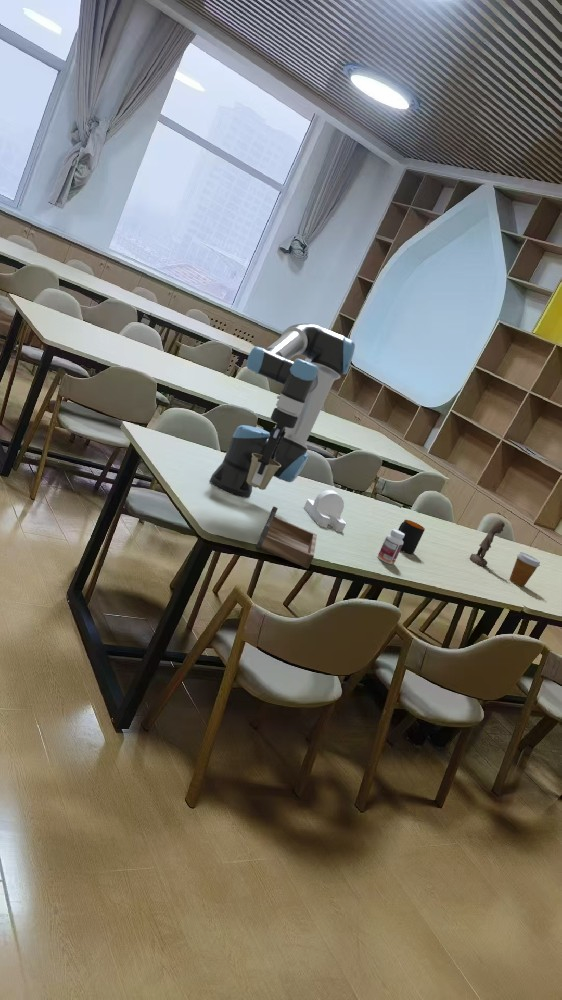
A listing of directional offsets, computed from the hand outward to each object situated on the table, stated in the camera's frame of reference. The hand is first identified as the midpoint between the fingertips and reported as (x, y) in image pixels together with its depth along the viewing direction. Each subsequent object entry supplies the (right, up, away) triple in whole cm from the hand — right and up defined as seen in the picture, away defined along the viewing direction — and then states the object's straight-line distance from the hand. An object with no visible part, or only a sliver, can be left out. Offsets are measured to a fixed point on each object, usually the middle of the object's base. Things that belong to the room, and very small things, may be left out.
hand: (258, 481), depth 226 cm
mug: (+52, -24, +61) cm, 84 cm away
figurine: (+89, -32, +90) cm, 131 cm away
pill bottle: (+42, -27, +33) cm, 60 cm away
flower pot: (-1, -2, 0) cm, 2 cm away
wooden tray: (+9, -20, +1) cm, 22 cm away
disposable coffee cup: (+103, -40, +82) cm, 138 cm away
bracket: (+22, -13, +52) cm, 58 cm away
